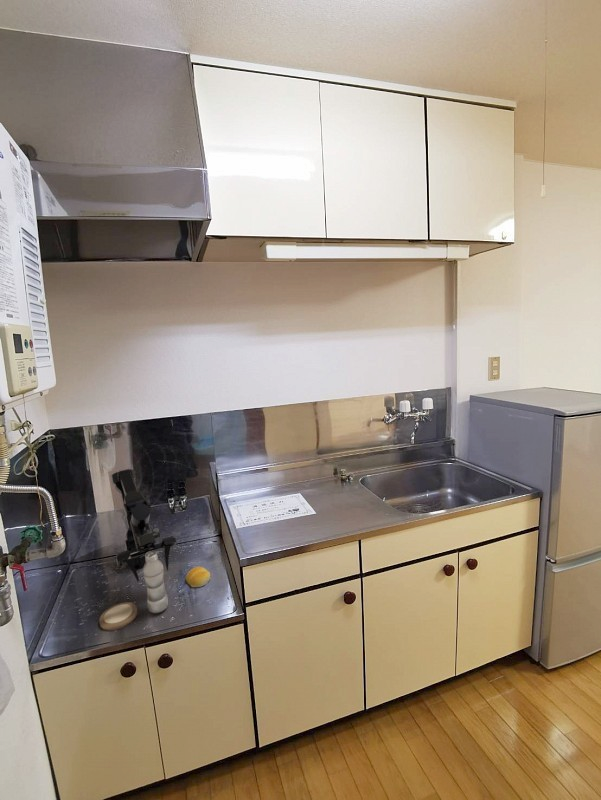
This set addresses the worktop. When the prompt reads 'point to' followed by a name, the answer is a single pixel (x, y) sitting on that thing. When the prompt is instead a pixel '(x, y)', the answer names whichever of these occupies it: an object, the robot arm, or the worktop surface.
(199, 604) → the worktop surface
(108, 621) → the tan round plate
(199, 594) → the worktop surface
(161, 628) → the worktop surface
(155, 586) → the plastic bottle
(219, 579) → the worktop surface
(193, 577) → the bread roll
